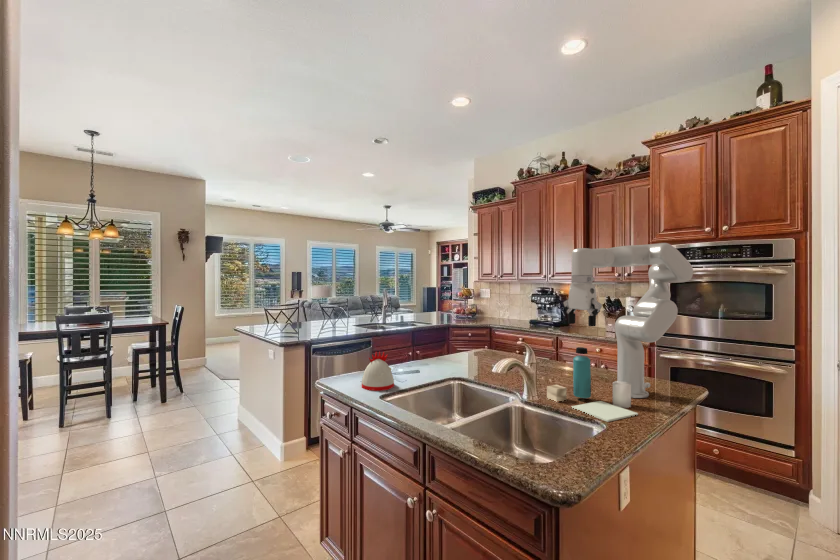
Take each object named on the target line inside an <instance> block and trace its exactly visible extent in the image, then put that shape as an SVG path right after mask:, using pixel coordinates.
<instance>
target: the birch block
mask: <svg viewBox="0 0 840 560" xmlns="http://www.w3.org/2000/svg"><path fill="white" fill-rule="evenodd" d="M547 398H548V399H547ZM546 399H547V400H549V399H551V400H554V401H556V402H557V401H562V402H565V401H564V400H566V401H567V387H566V386H565V387H564V386H562V385H559V384H553V385H552V384H551V385H547V386H546ZM551 400H550V401H551ZM554 401H553V402H554ZM556 402H555V403H556ZM557 403H558V402H557Z"/></svg>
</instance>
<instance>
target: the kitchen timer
mask: <svg viewBox="0 0 840 560" xmlns="http://www.w3.org/2000/svg"><path fill="white" fill-rule="evenodd" d="M371 356H372V359H371V358H370V357H368V359H369V364H368V365H367V366H366V367H365V370H364V372H363V376H362V379H361V388H362V389H364V390H366V391H372V392H374V391H375V392H376V391H377V392H380V391H381V392H382V391H388V390H390V389H393V388H394V386H395V380H394V376H393V372H392V368H391V367H390V366H389V364H388V363H387V362H386V360H387V358H388V356H389V354H386V355H385V351H383V352H382V355H381V351H379V352H377V351H375V355H374V353H373V354H371Z"/></svg>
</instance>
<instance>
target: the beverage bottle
mask: <svg viewBox="0 0 840 560" xmlns="http://www.w3.org/2000/svg"><path fill="white" fill-rule="evenodd" d="M575 354H578V355H576V356H574V357H573V358H572V360H573V361H572V364H573V365H572V367H573V370H572V373H573V374H572V375H573V376H572V382H573V383H572V390H573V391H572V394H573V396H574V397H576V398H580V399H581V398H582V399H589V398H591V397H592V371H591V362H592V361H591V358H590V357H588V356H585V355H588V348H587V347H584V346H583V347H581V346H580V347H576V349H575Z"/></svg>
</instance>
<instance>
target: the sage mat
mask: <svg viewBox="0 0 840 560" xmlns="http://www.w3.org/2000/svg"><path fill="white" fill-rule="evenodd" d="M571 407H572V408H571ZM570 408H571V409H573V408H574V409H573V410H575V409H577V410H576V411H578V410H580V411H582V412H581V413H583V412H585V413H584V414H586V413H587V414H586V415H588V414H589V415H588V416H591V415H592V416H591V417H593V416H594V418H596V419H599V420H602V421H604V422H607V423H609V422H613V421H618V420H622V419H626V418H631V416H632V417H635V415H636V416H638V415H639V413H638V412H636V411H633V410H630V409H628V408H621V407H618V406H615V405H613V403H612V404H611V403H608V402H605V401H602V400H598V401H597V400H596V401H593V402H587V403H581V404H577V405H571V406H570ZM580 411H579V412H580Z"/></svg>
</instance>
